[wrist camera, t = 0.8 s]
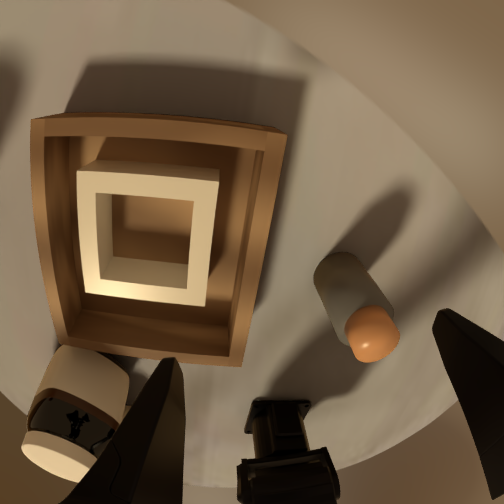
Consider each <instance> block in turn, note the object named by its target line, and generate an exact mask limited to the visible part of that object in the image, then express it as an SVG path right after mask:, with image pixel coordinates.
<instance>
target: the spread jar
mask: <svg viewBox="0 0 504 504" xmlns="http://www.w3.org/2000/svg"><path fill="white" fill-rule="evenodd" d="M128 389H129V376H128V373H127V372H126V370H125V369H124V368H123V366H122V365H121V364H120V363H119V362H118V361H116V360H115V359H114V358H113V357H112V356H111V355H109V354H108V353H105V352H99V351H94V350H88V349H83V348H77V347H72V346H67V345H63V344H62V345H61V346H60V347H59V348H58V349H57V351H56V352H55V354H54V356H53V357H52V359H51V361H50V363H49V365H48V367H47V370H46V372H45V374H44V376H43V379H42V381H41V383H40V386H39V388H38V390H37V392H36V395H35V397H34V400H33V402H32V405H31V407H30V410H29V413H28V415H27V416H28V418H27V429H28V432H27V433H26V435H25V438H24V441H23V443H22V447H21V448H22V451H23V453H24V454H25V455H26V456H27V457H28V458H29V459H30V460H31V461H32V462H34V463H35V464H37V465H38V466H40V467H41V468H43V469H45V470H47V471H48V472H50V473H53V474H55V475H57V476H59V477H62V478H65V479H67V480H71V481H75V482H80V480H81V479H82V478H83V477H84V476H85V474H86V473H87V472H88V471H89V469H90V468H91V467H92V465H93V464H94V463H95V462H96V460H97V459H98V457H99V456H100V454H101V453H102V451H103V450H104V448H105V447H106V445H107V444H108V442H109V441H110V440H112V439H111V438H112V436H113V434H114V433H115V431H116V430H117V428H118V426H119V425H120V423H121V422H122V420H123V419H124V417H125V416H126V414H127V412H128V411H129V409H130V408H131V406H128V405H125V404H126V400H127V395H128Z"/></svg>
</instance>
